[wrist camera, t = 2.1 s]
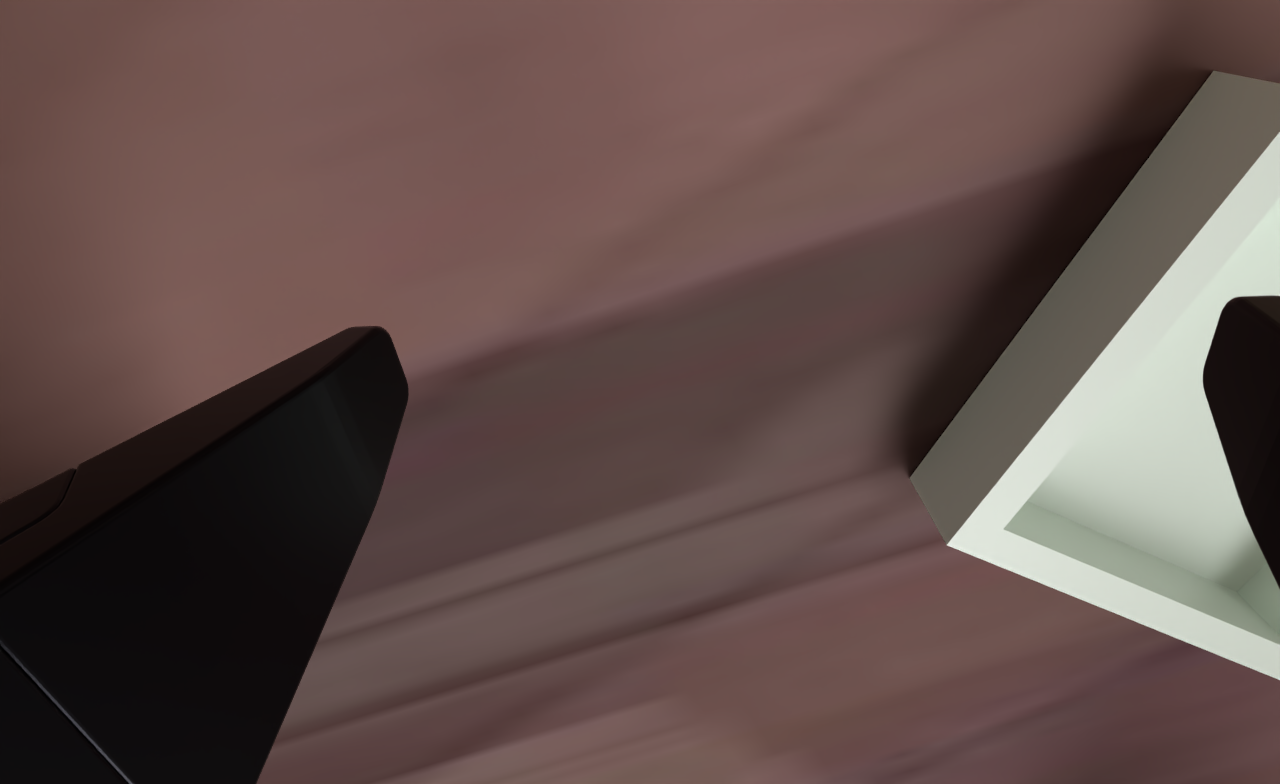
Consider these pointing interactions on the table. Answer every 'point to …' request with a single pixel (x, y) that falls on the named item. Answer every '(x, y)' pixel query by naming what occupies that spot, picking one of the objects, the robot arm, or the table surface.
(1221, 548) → the tray
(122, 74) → the table surface
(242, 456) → the robot arm
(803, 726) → the table surface
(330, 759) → the table surface
